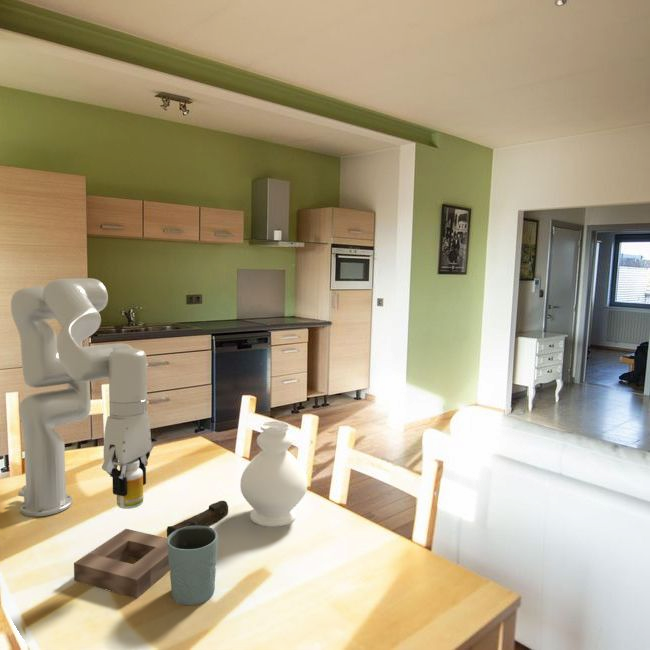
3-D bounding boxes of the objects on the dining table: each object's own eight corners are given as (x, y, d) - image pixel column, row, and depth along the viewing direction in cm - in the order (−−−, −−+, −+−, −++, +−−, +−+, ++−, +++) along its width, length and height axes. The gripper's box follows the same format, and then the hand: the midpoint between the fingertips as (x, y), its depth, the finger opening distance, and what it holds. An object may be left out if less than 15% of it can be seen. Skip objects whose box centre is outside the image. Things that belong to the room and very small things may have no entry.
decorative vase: (265, 539, 133) (266, 440, 130) (227, 513, 146) (228, 423, 143) (320, 518, 145) (322, 427, 142) (280, 495, 158) (281, 412, 155)
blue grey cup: (192, 614, 104) (191, 555, 103) (156, 596, 109) (155, 539, 108) (227, 588, 113) (228, 533, 111) (193, 572, 118) (192, 520, 117)
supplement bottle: (148, 500, 119) (148, 458, 117) (132, 511, 114) (131, 466, 112) (128, 496, 120) (127, 454, 119) (111, 506, 115) (110, 463, 114)
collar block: (74, 580, 114) (73, 563, 113) (126, 544, 129) (125, 528, 128) (137, 598, 108) (136, 579, 108) (183, 558, 123) (183, 541, 123)
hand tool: (175, 545, 129) (175, 527, 129) (165, 540, 132) (165, 522, 131) (234, 518, 144) (235, 501, 144) (224, 513, 147) (225, 497, 146)
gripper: (140, 396, 124) (141, 472, 126) (83, 415, 108) (86, 502, 110) (168, 400, 121) (168, 477, 123) (114, 420, 105) (116, 508, 107)
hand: (129, 488), depth 117 cm, fingers closed on supplement bottle, 5 cm apart
